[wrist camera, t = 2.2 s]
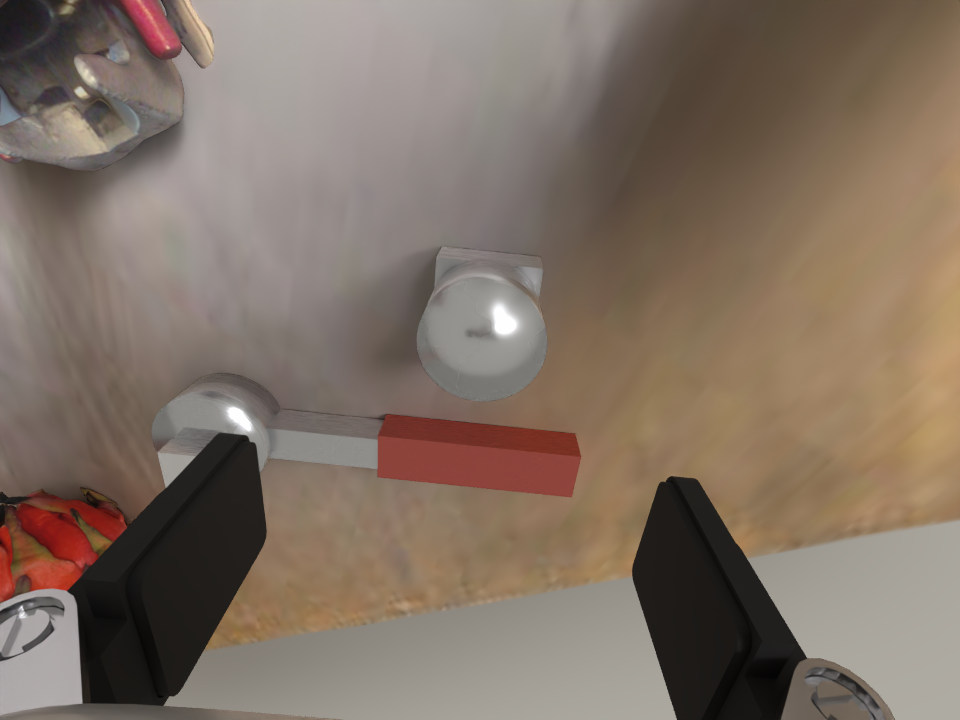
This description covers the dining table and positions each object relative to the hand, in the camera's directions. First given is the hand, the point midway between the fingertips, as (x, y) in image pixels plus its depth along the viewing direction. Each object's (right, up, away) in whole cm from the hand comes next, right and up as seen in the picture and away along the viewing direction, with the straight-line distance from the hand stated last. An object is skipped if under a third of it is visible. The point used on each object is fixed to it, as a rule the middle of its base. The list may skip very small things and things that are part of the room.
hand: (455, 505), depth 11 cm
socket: (+1, +7, +13) cm, 15 cm away
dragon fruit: (-25, -8, +21) cm, 34 cm away
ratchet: (-5, -1, +17) cm, 18 cm away
